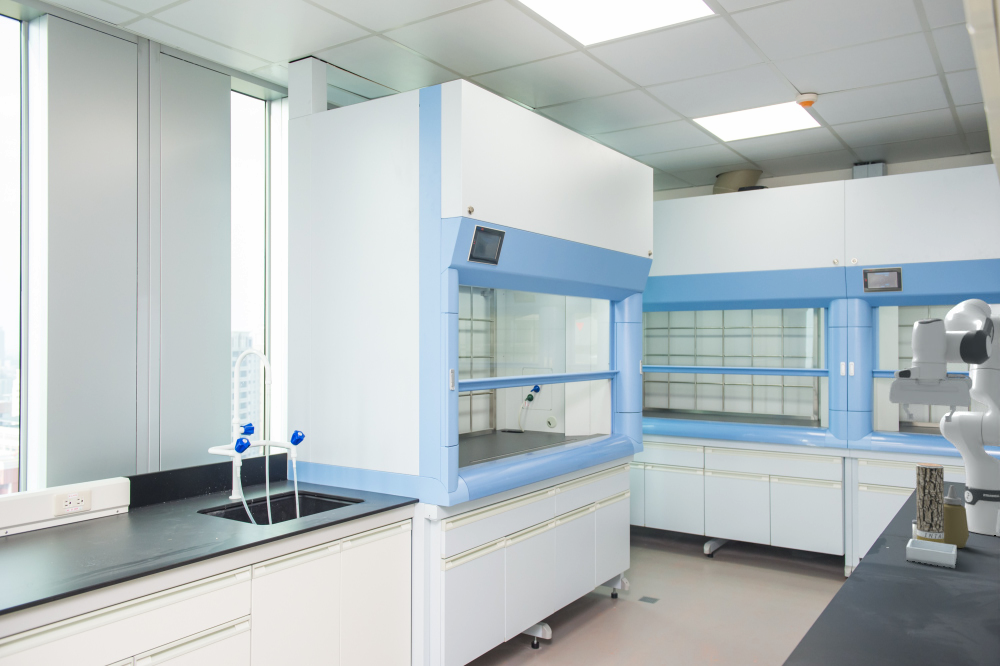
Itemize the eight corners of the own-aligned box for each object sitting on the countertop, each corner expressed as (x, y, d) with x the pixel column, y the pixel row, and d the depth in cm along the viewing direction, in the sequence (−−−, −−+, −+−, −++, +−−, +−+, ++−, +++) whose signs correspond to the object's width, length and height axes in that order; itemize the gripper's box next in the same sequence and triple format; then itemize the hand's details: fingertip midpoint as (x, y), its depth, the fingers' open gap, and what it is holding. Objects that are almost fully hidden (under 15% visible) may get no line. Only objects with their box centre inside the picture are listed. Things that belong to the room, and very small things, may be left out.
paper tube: (911, 547, 204) (911, 462, 205) (933, 546, 205) (932, 462, 206) (927, 553, 197) (927, 466, 198) (949, 553, 198) (949, 466, 199)
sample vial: (920, 539, 214) (920, 519, 214) (926, 541, 211) (926, 522, 211) (910, 538, 214) (909, 519, 214) (916, 541, 211) (916, 521, 211)
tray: (910, 551, 199) (910, 538, 199) (956, 558, 192) (956, 545, 192) (906, 560, 190) (906, 546, 190) (954, 568, 183) (954, 554, 183)
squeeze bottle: (974, 550, 201) (973, 488, 202) (943, 548, 203) (943, 487, 204) (961, 543, 209) (961, 484, 210) (932, 541, 211) (932, 482, 212)
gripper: (972, 374, 197) (972, 422, 196) (890, 372, 209) (890, 417, 208) (971, 374, 192) (972, 423, 191) (888, 372, 204) (888, 418, 203)
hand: (929, 420), depth 200 cm, fingers open, 8 cm apart
